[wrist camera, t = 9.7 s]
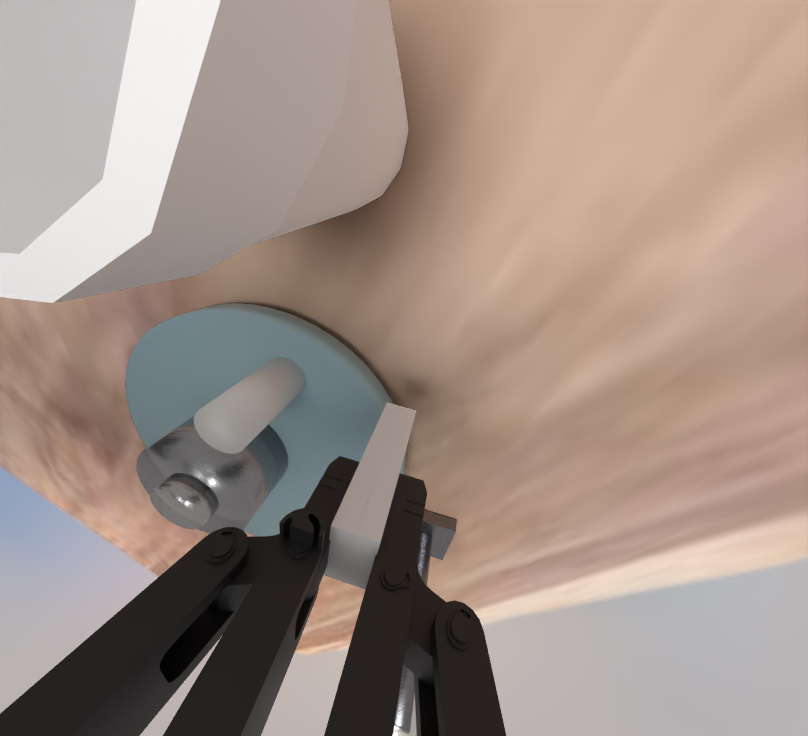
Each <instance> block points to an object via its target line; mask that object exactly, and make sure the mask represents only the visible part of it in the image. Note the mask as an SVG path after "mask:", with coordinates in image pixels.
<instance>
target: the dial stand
mask: <svg viewBox="0 0 808 736" xmlns="http://www.w3.org/2000/svg"><path fill="white" fill-rule="evenodd" d="M455 532H456V520H455V519H452V518H449V517H446V516H443V515H439V514H436V513H433V512H430V511H427V510H424V515H423V522H422V528H421V535H420V541H419V548H418V554H417V567H418V572H419V574H420V576H421V579H422V580H423V582H424V583H425V585H426V586H427V580H428V571H429V562H430V556H432V557H435V558H438V559H441V560H443V557H444V555H445V553H446V551H447V549H448V547H449V545H450V543H451V540H452V538H453V536H454V534H455ZM393 736H417V732H416V710H415V689H414V674H413V673H412V672H411V671H410V670H409V669H408V668H407V667H406V666H405V665H404V664H403V670H402V677H401V684H400V691H399V697H398V704H397V711H396V717H395V724H394V731H393Z"/></svg>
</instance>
